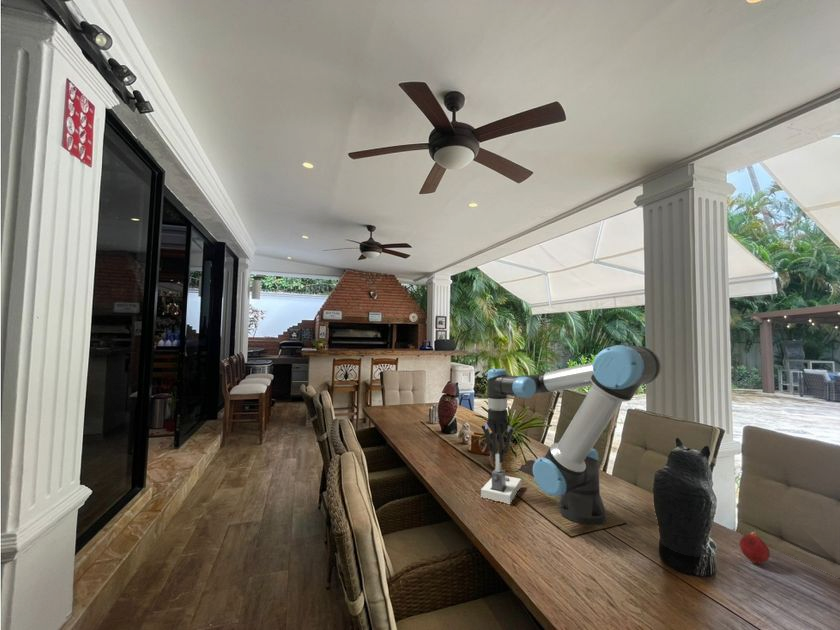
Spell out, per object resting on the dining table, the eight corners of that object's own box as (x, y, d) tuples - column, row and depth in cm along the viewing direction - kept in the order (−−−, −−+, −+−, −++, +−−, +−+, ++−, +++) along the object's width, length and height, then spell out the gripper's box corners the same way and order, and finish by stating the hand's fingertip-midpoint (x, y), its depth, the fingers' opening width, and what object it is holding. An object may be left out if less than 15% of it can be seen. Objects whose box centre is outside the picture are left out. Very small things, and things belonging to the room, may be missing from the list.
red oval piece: (761, 572, 90) (758, 539, 90) (735, 558, 95) (733, 528, 96) (776, 568, 91) (773, 536, 92) (750, 555, 97) (747, 525, 97)
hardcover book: (546, 487, 144) (546, 481, 144) (508, 469, 164) (507, 464, 164) (572, 480, 151) (572, 474, 151) (532, 464, 171) (532, 459, 172)
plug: (505, 494, 135) (505, 470, 135) (501, 501, 129) (500, 476, 130) (495, 492, 137) (495, 468, 137) (490, 498, 131) (490, 474, 131)
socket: (521, 487, 142) (521, 476, 142) (509, 505, 126) (509, 493, 127) (495, 482, 147) (494, 472, 148) (481, 499, 132) (480, 487, 132)
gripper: (516, 408, 136) (517, 470, 134) (484, 405, 142) (485, 464, 141) (511, 411, 130) (513, 477, 128) (478, 408, 136) (479, 470, 134)
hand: (498, 470), depth 134 cm, fingers closed
